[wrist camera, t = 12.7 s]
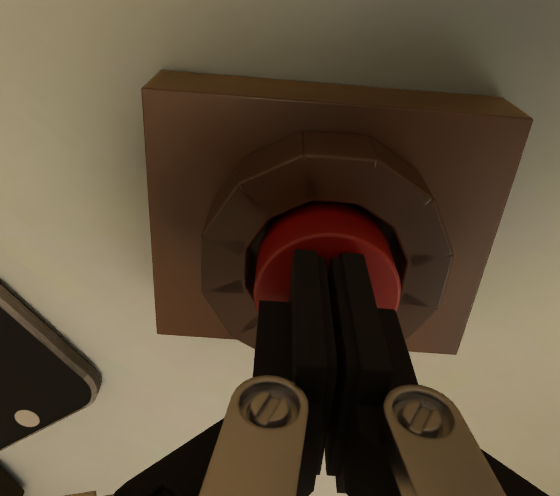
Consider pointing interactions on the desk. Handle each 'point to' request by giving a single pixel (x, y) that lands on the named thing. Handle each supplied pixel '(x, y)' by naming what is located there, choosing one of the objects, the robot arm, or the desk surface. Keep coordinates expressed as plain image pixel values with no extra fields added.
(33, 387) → the smartphone
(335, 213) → the button
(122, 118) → the desk surface
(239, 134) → the button box
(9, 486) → the ink cartridge
